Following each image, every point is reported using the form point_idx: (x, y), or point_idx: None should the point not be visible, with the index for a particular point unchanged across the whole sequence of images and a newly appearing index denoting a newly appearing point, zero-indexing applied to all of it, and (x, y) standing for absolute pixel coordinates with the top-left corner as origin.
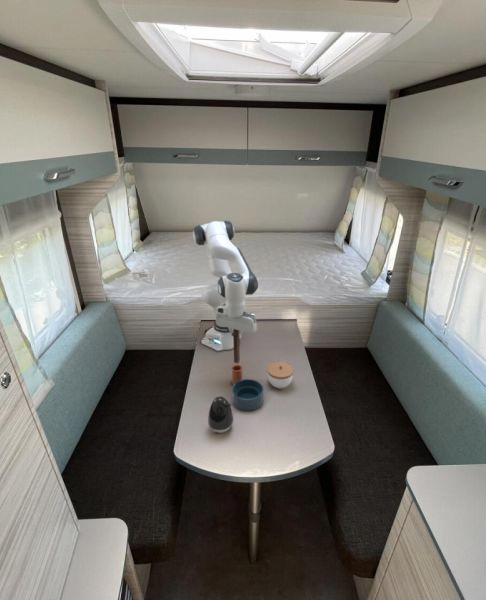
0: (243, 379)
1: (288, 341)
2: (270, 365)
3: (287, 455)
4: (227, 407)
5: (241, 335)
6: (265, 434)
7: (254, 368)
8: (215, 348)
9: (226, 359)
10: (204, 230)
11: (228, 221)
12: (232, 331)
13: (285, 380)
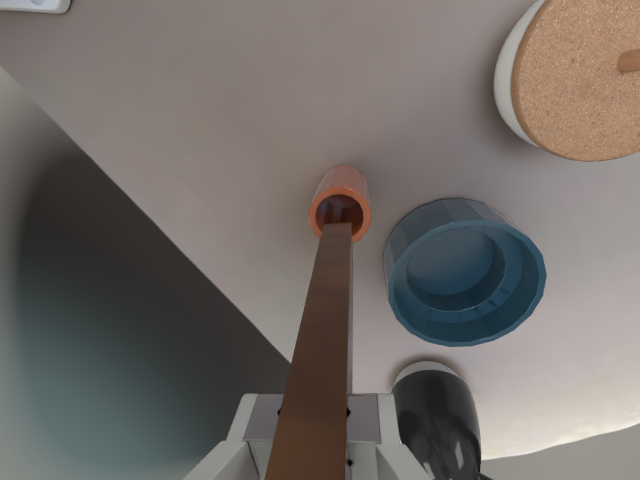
0: (409, 246)
1: None
2: (533, 69)
3: None
4: (480, 464)
5: (396, 420)
6: (572, 344)
7: (347, 26)
8: (36, 8)
9: (166, 54)
10: None
11: None
12: (242, 477)
13: None
